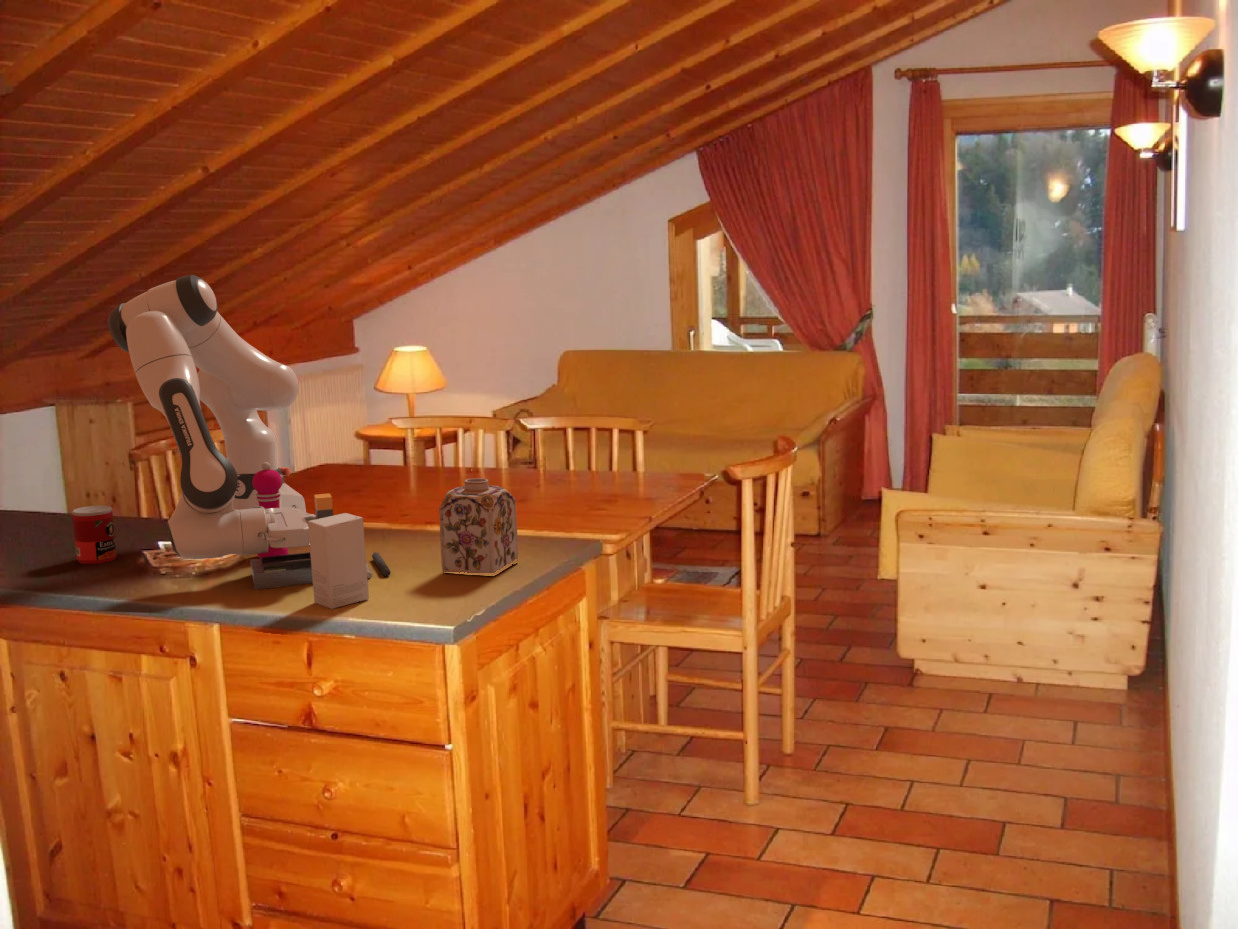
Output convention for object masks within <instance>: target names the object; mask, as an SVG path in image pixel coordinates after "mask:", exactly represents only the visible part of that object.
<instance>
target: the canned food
mask: <svg viewBox="0 0 1238 929" xmlns="http://www.w3.org/2000/svg"><path fill="white" fill-rule="evenodd" d="M113 513H114V512H113V508H112V507H111V506H109V505H90V506H88V505H87V506H83V507H82V506H81V507H78V508H75V509H73V510H72V513H71V515H72V523H73V524H72V525H73V534H74V542H75V551H76V560H77V561H78V563H79V564H82V565H99V564H105V562H106V563H109V561H110V562H112V561H114V560H115V559H116V558H117V545H116V536H115V524H114V515H113Z"/></svg>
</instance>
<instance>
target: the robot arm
mask: <svg viewBox="0 0 1238 929" xmlns="http://www.w3.org/2000/svg"><path fill="white" fill-rule="evenodd" d="M218 308H219V306H218V302H217V298H216V295H215V292H214V291H213V289H212V287H211V286H210V285H209V283H208V282H207V281H206V280H205V279H204V278H202V277H199V276H197V275H195V274H190V275H189V274H188V275H183V276H179V277H177V278H176V280H171V281H167V282H165V283H161V284H159V285H156V286H154V287H151V288H149V289H148V290H147V291H145V292H143V293H141V294H139V295H137V296H135V297H133V298H132V299H130V300H128V301H127V302H123V303H120V304H119V305H118V306H116V307H115V308H113V310H111V311H110V312H109V315H108V316H109V317H108V319H107V328H108V331H109V334H110V336H111V337H112V339H113V341H114V343H115V345H117V347H118V348H120V349H121V350H122V351H124V352H126V353H128V354H129V357H130V361H131V364H132V368H133V372H134V375H135V378H136V380H137V383H138V385H139V386H140V389H141V390H142V393H143V394H144V396H145V397H146V400H147V401H148V403H149V404H150V405H151V407H152V408H154V409H156V410H158V411H159V412H160V413H161V414H162V415H163V416H164V417H165V419H166V421H167V423H168V425H169V427H170V431H171V432H172V435H173V437H174V441H175V444H176V446H177V450H178V452H179V454H180V458H181V469H180V476H179V477H180V480H179V481H180V488H181V493H180V497H179V499H178V502H177V504H176V507H175V509H174V510H173V513H172V515H171V516H170V518H169V519H168V520H167V523H166V529H167V532H168V536H169V540H170V543H171V548H172V549H173V552H174V553H175V554H176V555H177V556H178V557H180V558H182V559H185V560H204V559H205V560H206V559H218V558H222V557H225V556H229V555H236V556H246V555H247V556H248V555H258V554H259V553H268V546H271V547H273V548H288V549H289V548H301V547H306V546H310V542H309V530H308V521H310V520H315V519H316V514H314V513H309V512H307V509H306V503H305V498H304V497H303V495H302V494H300V493H299V492H298V491H296V490H295V489H294V488H292V487H290V485H288V484H287V483H286V482H285V481H286V480H285V478H284V476H285V477H289V476H290V475H291V471H292V470H291V468H290V467H289V466H288V467H283V466H281V467H279V459H278V456H279V455H278V446H277V438H276V435H275V433H274V431H273V430H272V429H271V428H269V427H268V426H267V425H266V424H265V423H264V422H263V421H262V418H260V415H259V413H258V411H274V410H280V409H284V408H287V407H290V406H291V405H292V404H293V403H294V402H295V400H296V398H297V396H298V393H299V387H300V386H299V380H298V379H299V378H298V376H297V374H296V373H295V371H294V370H293V368H292V367H290V366H288V365H286V364H284V363H282V362H278V361H277V360H274V359H272V358H270V357H269V356H268V355H265V354H264V353H263V352H262V351H260V350H258V349H257V348H256V347H254V346H252V345H251V344H250V343H248V342H247V341H246V340H245V339H244V338H242V337H241V336H240V335H239V334H238V333H237V332H236V331H235V330H234V329H233V328H232V327H231V325H230V324H228V322H227V321H226V320H225V319H224V317H223V316H222V315H221V314H220V313H219V311H218ZM197 369H199V370H198V371H197ZM201 403H203V404H204V405H205V406H206V407H207V408H208V409H209V410H210V411H211V413H212V414H213V416H214V417H215V419H216V421H217V423H218V425H219V427H220V431H221V432H222V436H223V440H224V444H225V445H224V446H225V453H226V456H225V455H224V454H222V452H220V450H219V449H218V448H217V446H216V444H215V442H214V440H213V437H212V434H211V433H210V429H209V427H208V425H207V422H206V420H205V416H204V414H203V411H202V407H201ZM264 462H268V463H269V464H270V466H271V467H270V469H271V470H275V471H277V472H278V473H279V474H280V475H281V478H282V486H281V488H280V489H279V492H281V494H280V496H281V498H280V499H279V506H280V508H268V509H264V507H262V506H259V502H258V501H257V500H256V498H257V496H256V494H257V493H258V492H257V491H256V490H255V489H254V487H253V483H252V481H253V477H254V475H255V474H256V473H257V472H259V471H261V470H263V469H262V464H263V463H264Z"/></svg>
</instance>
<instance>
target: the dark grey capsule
mask: <svg viewBox="0 0 1238 929" xmlns="http://www.w3.org/2000/svg"><path fill="white" fill-rule="evenodd" d="M371 558H372V559H373V561H374V563H375V565H376V566H377V567H378V570H380V572H381V574H382V576H384V577H389V576H390V575H391V572H392V571H391V570H390V568H389V566H388V564H387V563H386V562H385V560H384V559H383V557H382V556H381V554H380V552H377V551H375V552H373V553H372V555H371ZM366 567H367V579H371V577H372V576H373V572H372V571H371V569H370V567H369V566H368V563H366Z"/></svg>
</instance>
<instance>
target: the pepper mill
mask: <svg viewBox="0 0 1238 929" xmlns="http://www.w3.org/2000/svg"><path fill="white" fill-rule="evenodd" d="M270 467H271V466H270V464H269V463H268V462H264V463H263V464H262V469H263V470H261V471H259V472H257V473H256V474H255V475H254V477H253V481H252V483H253V487H254V489H255V490H256V491H257V492H258V493H257V494H256V496H257V498H256V500H257V501H258V502H259V506H262V507H264V509H268V508H280V506H279V499H280V498H281V496H280V494H281V492H279V489H280V488H281V486H282V478H281V475H280V474H279V473H278V472H277V471H275V470H271V469H270ZM286 554H289V548H273V547H271V546H268V553H259V554H257V557H258V559H261V557H266V556H276V555H286Z"/></svg>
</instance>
